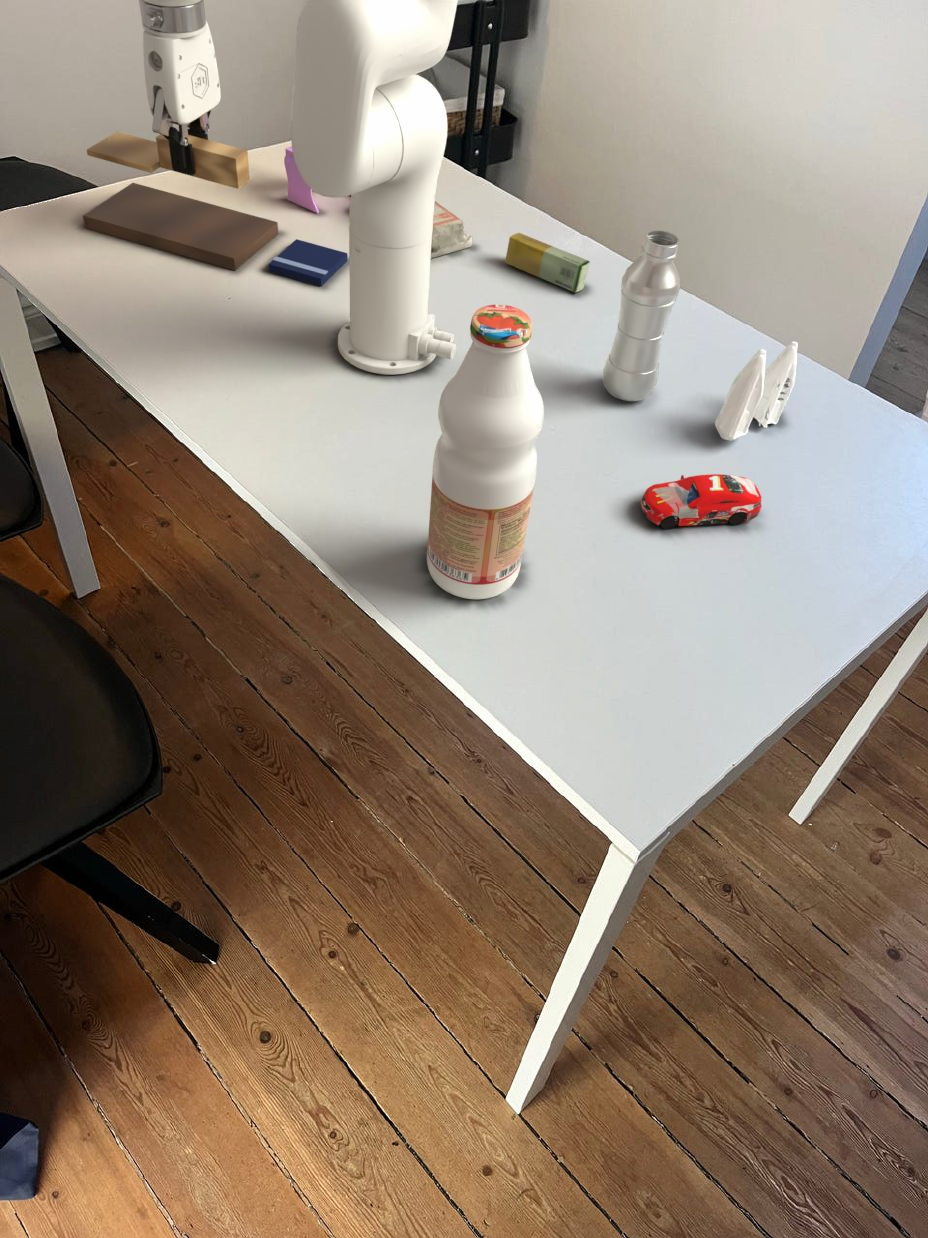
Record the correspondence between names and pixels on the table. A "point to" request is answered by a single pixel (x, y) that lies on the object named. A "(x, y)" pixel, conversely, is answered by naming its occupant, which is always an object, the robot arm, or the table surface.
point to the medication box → (547, 262)
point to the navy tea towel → (308, 262)
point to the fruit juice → (485, 459)
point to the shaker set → (758, 393)
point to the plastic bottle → (643, 318)
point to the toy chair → (298, 184)
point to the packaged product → (447, 233)
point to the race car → (702, 501)
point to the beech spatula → (149, 156)
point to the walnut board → (182, 225)
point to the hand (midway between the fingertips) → (191, 165)
